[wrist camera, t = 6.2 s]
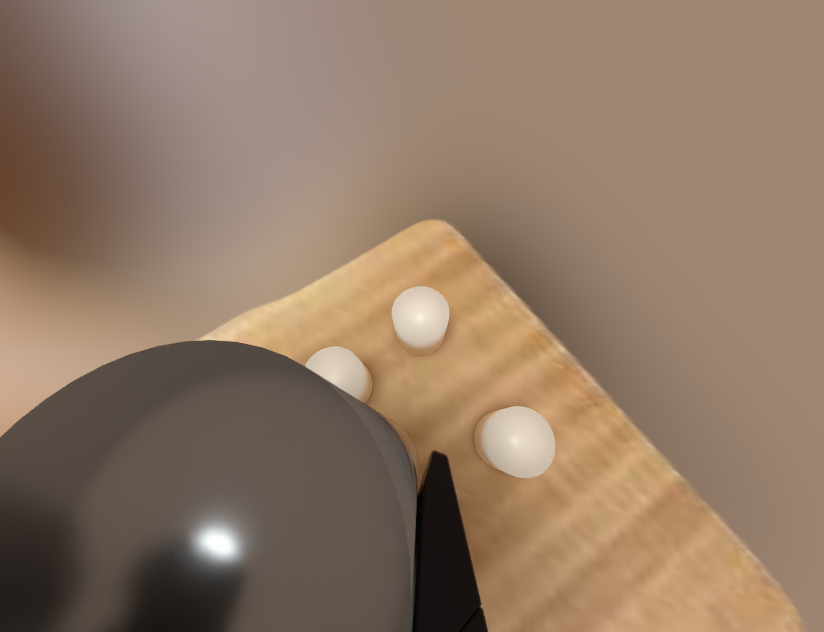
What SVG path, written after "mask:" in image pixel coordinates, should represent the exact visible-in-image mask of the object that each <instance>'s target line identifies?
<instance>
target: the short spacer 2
mask: <svg viewBox="0 0 824 632" xmlns="http://www.w3.org/2000/svg"><path fill="white" fill-rule="evenodd" d="M474 444H475V448H476V451H477V453H478V455H479V456H480V458H481V459H482V460H483V461H484V462H485V463H486V464H488V465H489V466H491V467H493V468H495V469H497V470H500V471H502V472H505V473H507V474H510V475H512V476H515V477H518V478H533V477H536V476H539V475H540V474H542V473H543V472H545V471H546V470H547V469H548V467H549V466H550V464H551V463H552V461H553V458H554V454H555V439H554V435H553V432H552V430H551V428H550V426H549V424H548V423H547V421H546V420H545V419H544V418H543V417H542V416H541V415H540V414H539V413H537V412H536V411H534V410H532V409H529V408H527V407H522V406H513V407H509V408H505V409H501V410H498V411H494V412H491V413H488V414H486V415H485V416H483V417H482V418H481V419H480V421H479V422H478V424H477V425H476V428H475V431H474Z"/></svg>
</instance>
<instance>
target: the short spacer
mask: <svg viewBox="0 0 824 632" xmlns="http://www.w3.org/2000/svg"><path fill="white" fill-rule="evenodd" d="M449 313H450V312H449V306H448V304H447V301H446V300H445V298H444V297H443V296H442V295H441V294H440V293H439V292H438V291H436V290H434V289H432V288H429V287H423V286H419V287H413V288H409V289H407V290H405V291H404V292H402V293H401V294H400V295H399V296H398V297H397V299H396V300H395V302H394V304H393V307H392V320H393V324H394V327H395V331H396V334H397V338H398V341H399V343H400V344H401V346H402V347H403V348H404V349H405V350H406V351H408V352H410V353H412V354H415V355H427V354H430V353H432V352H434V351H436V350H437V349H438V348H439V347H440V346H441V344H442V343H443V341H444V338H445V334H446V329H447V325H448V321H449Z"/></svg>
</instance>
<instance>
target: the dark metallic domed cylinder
mask: <svg viewBox="0 0 824 632" xmlns="http://www.w3.org/2000/svg"><path fill="white" fill-rule="evenodd" d="M418 465H419V464H418V455H417V450H416V447H415V445H414V442H413V440H412V439H411V437H410V436H409V434H408V433H407V432H406V431H405V430H404V429H403V428H402V427H401V426H399V425H398V424H396V423H395V422H393V421H392V420H390V419H388V418H387V417H385V416H384V415H382V414H380V413H379V412H377V411H376V410H374V409H372V408H371V407H369V406H368V405H366V404H364V403H363V402H361V401H360V400H358V399H356V398H355V397H353V396H352V395H350V394H348V393H347V392H345V391H344V390H342V389H340V388H339V387H337V386H336V385H334V384H332V383H331V382H329V381H328V380H326V379H324V378H323V377H321V376H320V375H318V374H316V373H315V372H313V371H311V370H310V369H308V368H306V367H305V366H303V365H301V364H299V363H297V362H295V361H294V360H292V359H290V358H288V357H286V356H284V355H281V354H278V353H275V352H273V351H270V350H267V349H265V348H262V347H257V346H253V345H248V344H243V343H239V342H228V341H215V340H205V341H188V342H187V341H186V342H179V343H174V344H169V345H162V346H157V347H154V348H150V349H147V350H143V351H140V352H137V353H133V354H130V355H127V356H125V357H122V358H120V359H117V360H115V361H113V362H110V363H108V364H105V365H103V366H101V367H99V368H97V369H95V370H94V371H91V372H90V373H88V374H86V375H84V376H82V377H80V378H78V379H76V380H74V381H73V382H71V383H70V384H68V385H67V386H65V387H63V388H62V389H60V390H59V391H57V392H56V393H54V394H53V395H51V396H50V397H48V398H47V399H45V400H44V401H43V402H42V403H40V404H39V405H38V406H36V407H35V408H34V409H33V410H31V411H30V412H29V413H28V414H26V415H25V416H24V417H22V418H21V419H20V420H19V421H18V422H16V423H15V424H14V425H13V426H12V427H11V428H10V429H9V430H8V431H7V432H6V433H5V434H4V435H2V436H1V438H0V632H410V622H411V607H412V588H413V567H414V547H415V527H416V506H417V486H418Z"/></svg>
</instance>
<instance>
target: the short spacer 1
mask: <svg viewBox="0 0 824 632" xmlns="http://www.w3.org/2000/svg"><path fill="white" fill-rule="evenodd" d="M305 367H306V368H308V369H310V370H311V371H313V372H315V373H316V374H318V375H320V376H321V377H323V378H324V379H326V380H328V381H329V382H331V383H332V384H334V385H336V386H337V387H339V388H340V389H342V390H344V391H345V392H347V393H348V394H350V395H352V396H353V397H355V398H356V399H358V400H360V401H361V402H363V403H364V404H365V403H366V402H367V400H368V399H369V397H370V395H371V392H372V388H373V380H372V376H371V373H370V372H369V370H368V369H367V367H366V366H365V365H364V364H363V363H362V362H361V361H360V360H359V359H358V358H357V356H356V355H355V354H354V353H352V352H351V351H350V350H348V349H346V348H343V347H327V348H324V349H322V350H320V351H318V352H316V353H315V354H314V355H313V356H312V357H311V358H310V359H309V360H308V361H307V363H306V365H305Z"/></svg>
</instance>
